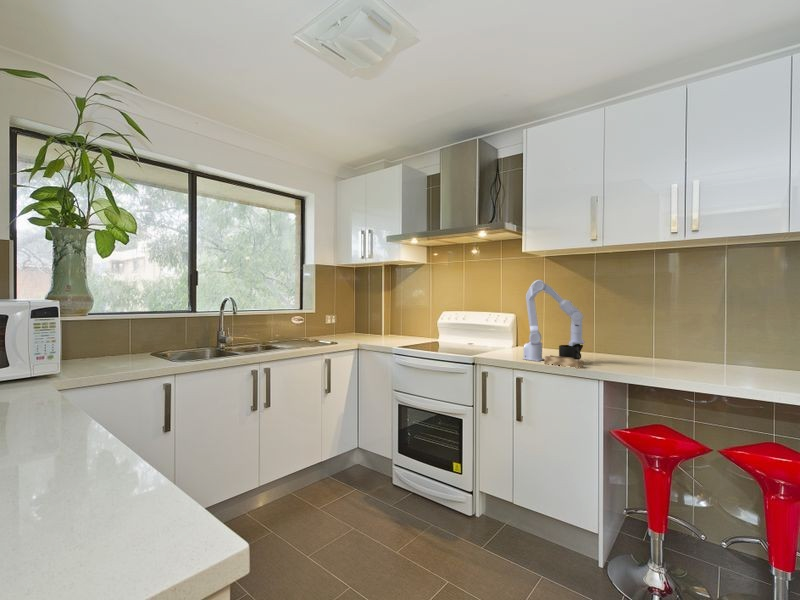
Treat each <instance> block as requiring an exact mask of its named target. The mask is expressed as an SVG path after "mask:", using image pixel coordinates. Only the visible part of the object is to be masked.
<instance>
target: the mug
mask: <svg viewBox="0 0 800 600" xmlns="http://www.w3.org/2000/svg"><path fill="white" fill-rule="evenodd" d="M578 354H579V358H578ZM558 356H560V357H569V358H574V359H577V360H579V361H581V360H582V353H581V352H579V351H578V346H569V344H561V345H558Z"/></svg>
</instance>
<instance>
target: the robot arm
mask: <svg viewBox="0 0 800 600" xmlns="http://www.w3.org/2000/svg"><path fill="white" fill-rule="evenodd" d="M542 291H543V293H546V294H548V295H549V296H551V298H552V299H554V300H555V301H556V302H557V303H558V304H559V309H560V310H561V311H563V312H564V313H565V314H566V315H567V316H569V317H570V320H571V321H570V340H569V342H568V345H569V346H578V351H579V352H580V353H581V351H582V349H583V347H584V345H583V344H585V341H584V340H583V319H584V315H583V313H582V312H581V311H580V310H579V308H578V307H576V306H575V305H573V303H572V301H571V300H568V299H564V298H563V297H562V296H561V295H560V294H558V293H557V292H556V290H554V289H553V287H552V286H550V285H549V284H548V283H545V282H544V281H543V280H542V279H537V280H534V281H533V282H532V283H531V285H530V286H529V288H528V290H527V292H526V294H525V301H526V309H527V318H528V323H529V332H530V333H529V338H528V339H529V342H528V343H527V342H525V343H524V345H523V349H522V351H523V353H522V354H523V358H522V360H525V361H534V362H541V361H545V358H543V342H541V341H542V334H541V332H540V331H539V323H538V316H537V308H536V302H535V298H536V296H538V294H539V293H541V292H542ZM578 358H579V354H578Z"/></svg>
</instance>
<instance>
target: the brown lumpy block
mask: <svg viewBox="0 0 800 600" xmlns="http://www.w3.org/2000/svg"><path fill="white" fill-rule="evenodd" d="M544 359H545V360H544V365H548V364H553V365H552V366H556V365H561V366H560V367H563V366H570V367H569V368H571V367H575V368H574V369H579V367H581V368H583V367H584V360H582V359H580V360H577V359H574V358H569V357H560V356H559V355H552V354H551V355H545V356H544ZM582 366H583V367H582Z"/></svg>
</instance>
